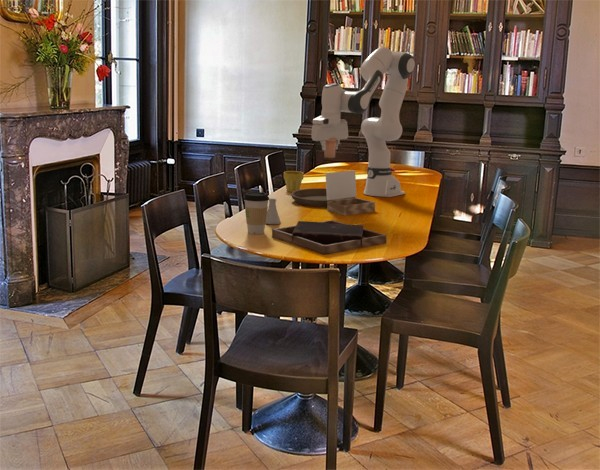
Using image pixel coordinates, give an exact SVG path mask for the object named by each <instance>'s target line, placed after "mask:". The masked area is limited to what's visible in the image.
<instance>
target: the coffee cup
mask: <svg viewBox="0 0 600 470" xmlns="http://www.w3.org/2000/svg"><path fill="white" fill-rule="evenodd" d="M269 199H270V197H269V195H268V193H267V192H263V191H262V192H261V191H249V192H246V193H245V194H244V196H243V199H242V200H244V211H245V212H244V213H245V220H246V228H247V234H249V235H262V234H264V233H265V228H266V227H265V226H266V225H267V224H266V216H267V211H268V207H269Z"/></svg>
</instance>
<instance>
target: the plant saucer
mask: <svg viewBox="0 0 600 470" xmlns="http://www.w3.org/2000/svg"><path fill="white" fill-rule="evenodd" d="M290 196H291V198H292V200H294V201H295V203H296V204H298V205H301V206H304V207H305V206H306V207H307V206H308V207H309V206H310V207H323V208H327V202H329V201H330V200H327V192H326V187H323V188H322V187H321V188H320V187H319V188H318V187H315V188H300V190H296V191H293V192H291V193H290ZM353 198H356V197H349V198H341V199H333V200H332V201H337V200H345V199H353Z"/></svg>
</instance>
